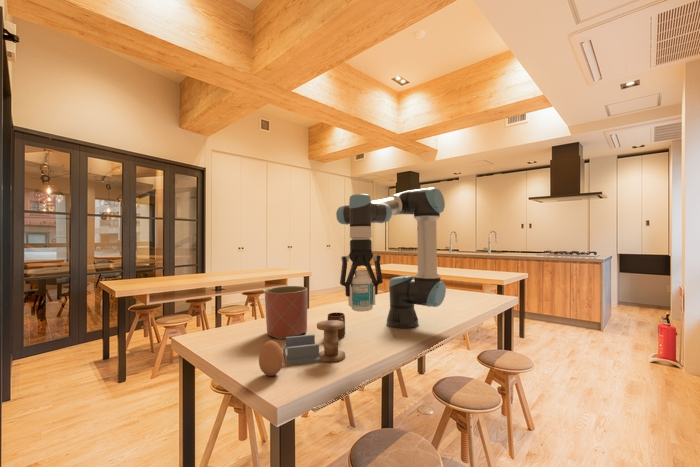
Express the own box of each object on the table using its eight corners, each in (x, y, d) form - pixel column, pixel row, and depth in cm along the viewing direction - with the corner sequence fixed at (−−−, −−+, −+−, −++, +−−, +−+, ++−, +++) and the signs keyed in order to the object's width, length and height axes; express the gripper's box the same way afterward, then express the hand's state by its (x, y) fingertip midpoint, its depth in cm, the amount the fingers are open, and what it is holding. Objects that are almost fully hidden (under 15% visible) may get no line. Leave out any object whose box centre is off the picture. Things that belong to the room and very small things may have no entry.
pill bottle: (361, 306, 115) (361, 269, 115) (377, 309, 110) (376, 270, 110) (346, 309, 110) (346, 270, 110) (362, 313, 105) (361, 272, 105)
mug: (352, 340, 132) (351, 317, 133) (334, 343, 130) (334, 319, 130) (341, 332, 144) (341, 311, 144) (325, 334, 141) (325, 313, 141)
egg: (282, 379, 97) (281, 344, 97) (256, 381, 97) (256, 345, 97) (285, 369, 105) (284, 336, 105) (261, 370, 104) (261, 337, 104)
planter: (278, 343, 131) (277, 294, 131) (258, 333, 145) (257, 289, 145) (316, 333, 143) (315, 288, 143) (294, 324, 157) (293, 284, 158)
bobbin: (341, 350, 120) (341, 319, 121) (348, 360, 111) (347, 326, 111) (315, 353, 118) (314, 321, 118) (319, 364, 108) (318, 329, 108)
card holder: (314, 344, 128) (314, 332, 128) (321, 361, 111) (321, 347, 111) (284, 347, 125) (284, 335, 125) (286, 365, 108) (286, 351, 108)
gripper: (384, 238, 116) (385, 300, 116) (329, 239, 111) (331, 304, 111) (392, 238, 109) (393, 305, 109) (334, 239, 104) (335, 309, 104)
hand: (361, 304), depth 110 cm, fingers closed on pill bottle, 7 cm apart
